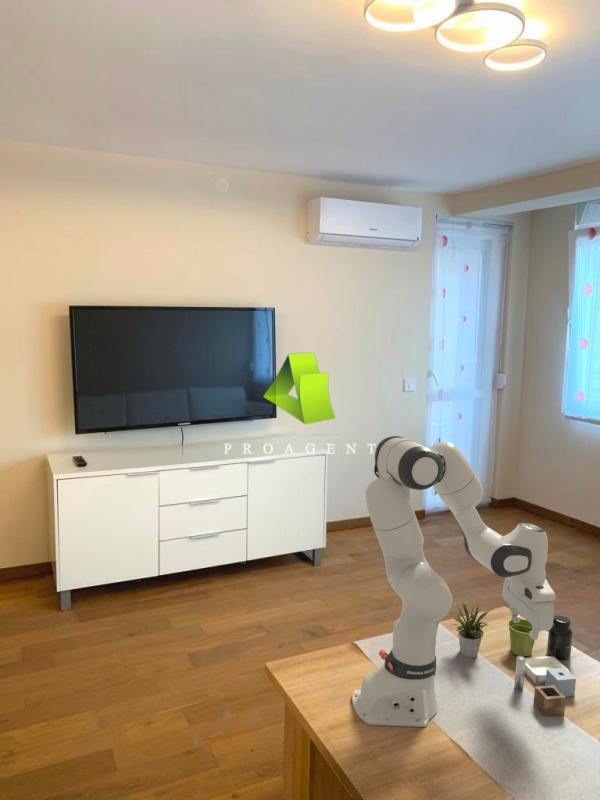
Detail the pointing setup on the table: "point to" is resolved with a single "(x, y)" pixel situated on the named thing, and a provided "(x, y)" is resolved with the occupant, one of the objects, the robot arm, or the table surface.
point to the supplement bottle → (560, 639)
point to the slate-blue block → (561, 680)
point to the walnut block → (549, 700)
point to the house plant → (470, 631)
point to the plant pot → (521, 637)
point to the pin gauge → (519, 673)
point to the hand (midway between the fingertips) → (524, 629)
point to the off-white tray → (541, 667)
